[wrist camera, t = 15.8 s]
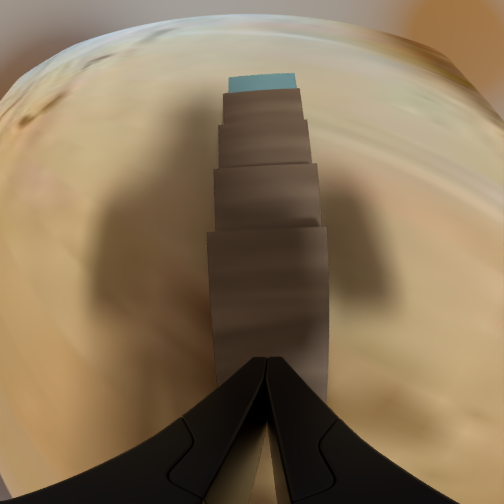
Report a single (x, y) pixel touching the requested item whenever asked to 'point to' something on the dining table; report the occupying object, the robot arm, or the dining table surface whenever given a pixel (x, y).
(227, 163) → the domino
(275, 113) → the domino
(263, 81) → the end domino
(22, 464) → the dining table surface
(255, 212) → the domino
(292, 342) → the domino
